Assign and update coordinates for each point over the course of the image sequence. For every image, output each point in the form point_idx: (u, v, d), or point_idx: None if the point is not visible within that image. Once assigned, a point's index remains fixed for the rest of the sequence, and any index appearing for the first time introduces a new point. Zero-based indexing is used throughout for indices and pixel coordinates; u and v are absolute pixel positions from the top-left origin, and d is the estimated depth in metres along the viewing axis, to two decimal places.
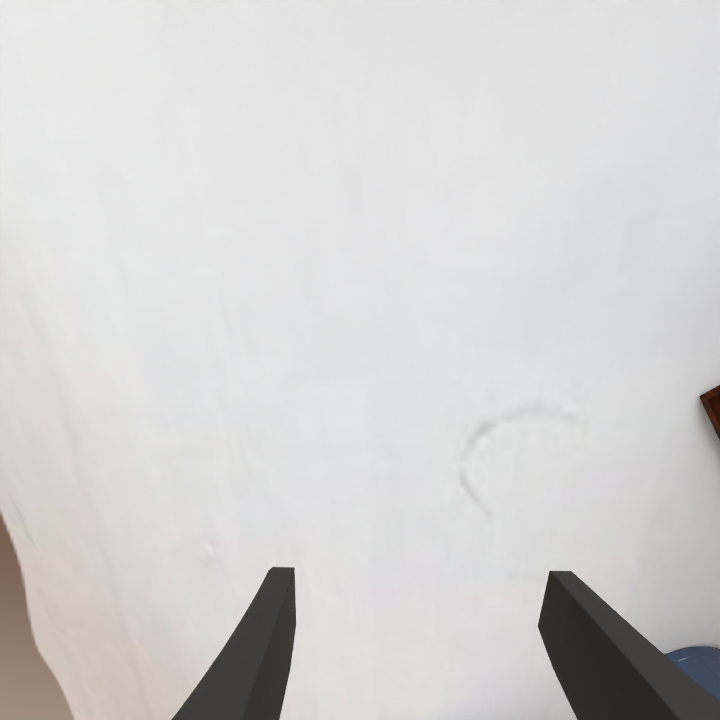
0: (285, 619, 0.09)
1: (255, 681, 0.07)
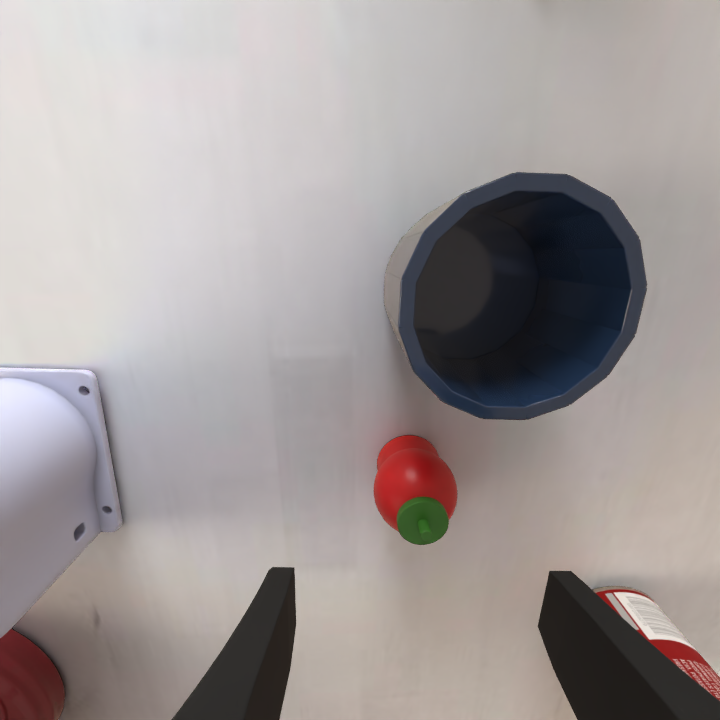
0: (285, 619, 0.09)
1: (255, 681, 0.07)
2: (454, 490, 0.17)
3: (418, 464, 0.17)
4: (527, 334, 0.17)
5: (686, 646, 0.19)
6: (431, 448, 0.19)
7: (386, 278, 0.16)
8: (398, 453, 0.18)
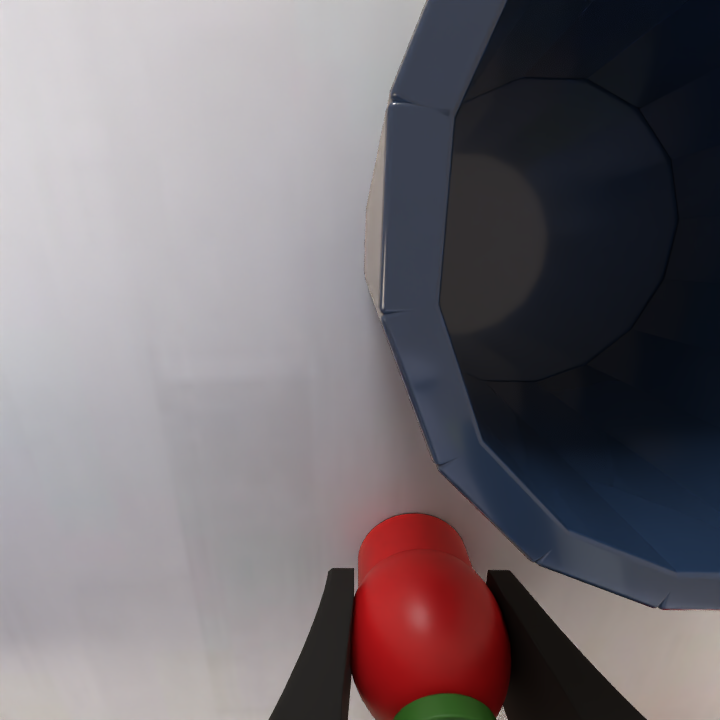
0: (352, 620, 0.09)
1: (343, 682, 0.07)
2: (508, 653, 0.08)
3: (434, 603, 0.08)
4: (657, 334, 0.08)
5: None
6: (454, 541, 0.11)
7: (366, 216, 0.07)
8: (394, 565, 0.09)
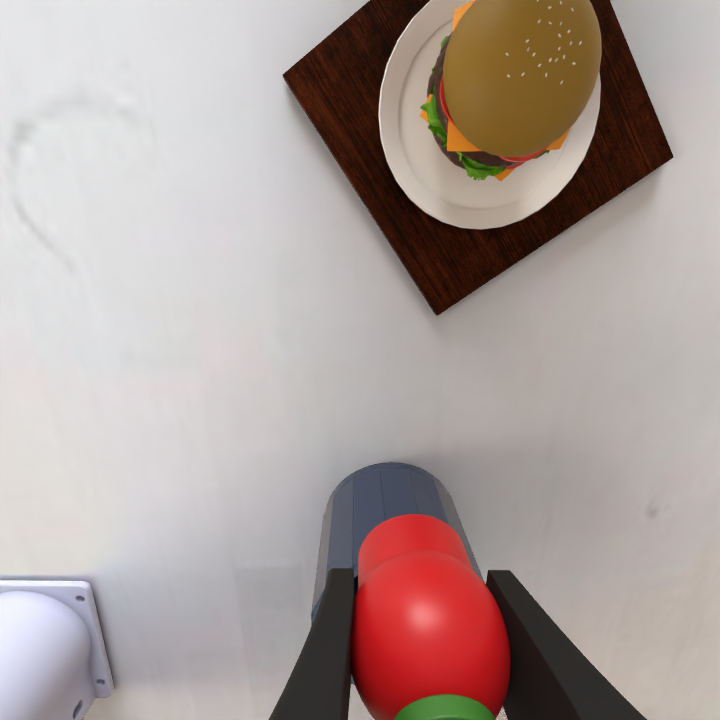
0: (352, 620, 0.09)
1: (343, 682, 0.07)
2: (507, 654, 0.08)
3: (434, 604, 0.08)
4: None
5: None
6: (454, 542, 0.11)
7: None
8: (393, 566, 0.09)
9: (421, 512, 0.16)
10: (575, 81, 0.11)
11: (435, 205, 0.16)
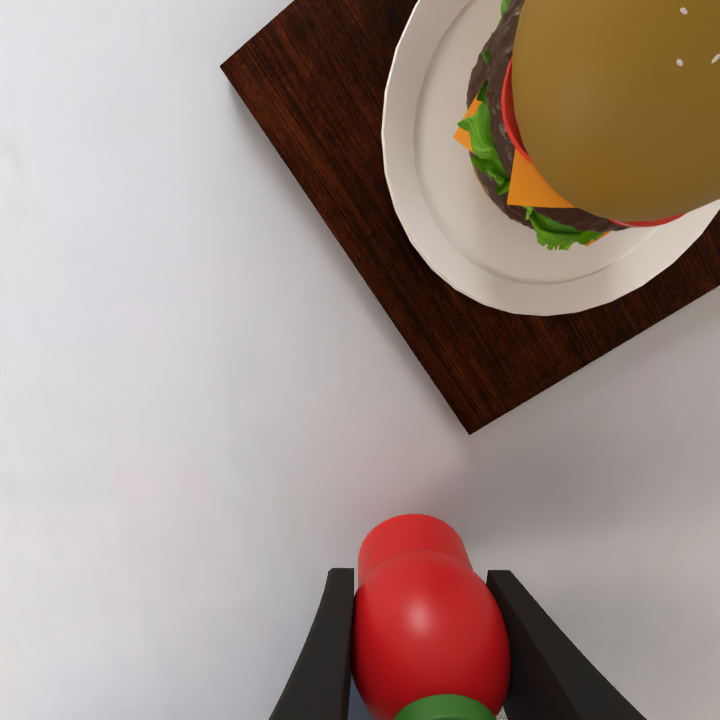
0: (352, 620, 0.09)
1: (343, 682, 0.07)
2: (507, 654, 0.08)
3: (434, 603, 0.08)
4: None
5: None
6: (454, 542, 0.11)
7: None
8: (393, 566, 0.09)
9: None
10: None
11: (472, 277, 0.10)
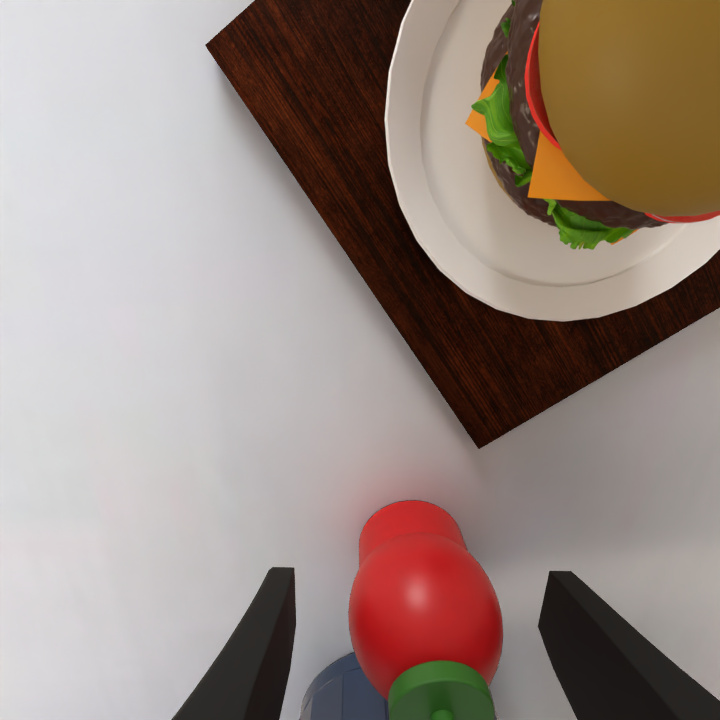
0: (285, 619, 0.09)
1: (255, 681, 0.07)
2: (499, 627, 0.09)
3: (430, 579, 0.09)
4: None
5: None
6: (450, 526, 0.11)
7: None
8: (393, 546, 0.10)
9: None
10: None
11: (483, 279, 0.09)
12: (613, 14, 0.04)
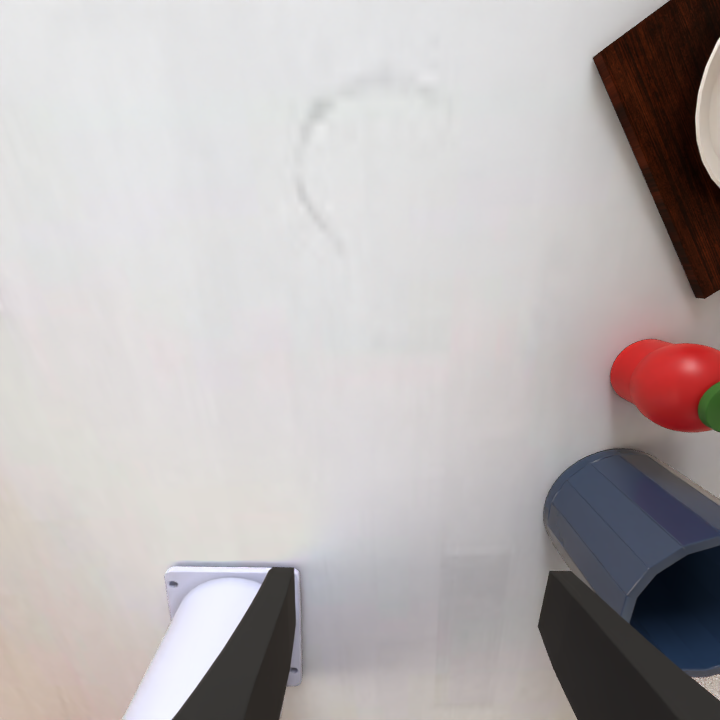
0: (285, 619, 0.09)
1: (255, 681, 0.07)
2: None
3: (708, 351, 0.15)
4: None
5: None
6: None
7: (557, 515, 0.20)
8: (667, 347, 0.16)
9: (706, 496, 0.16)
10: None
11: None
12: None
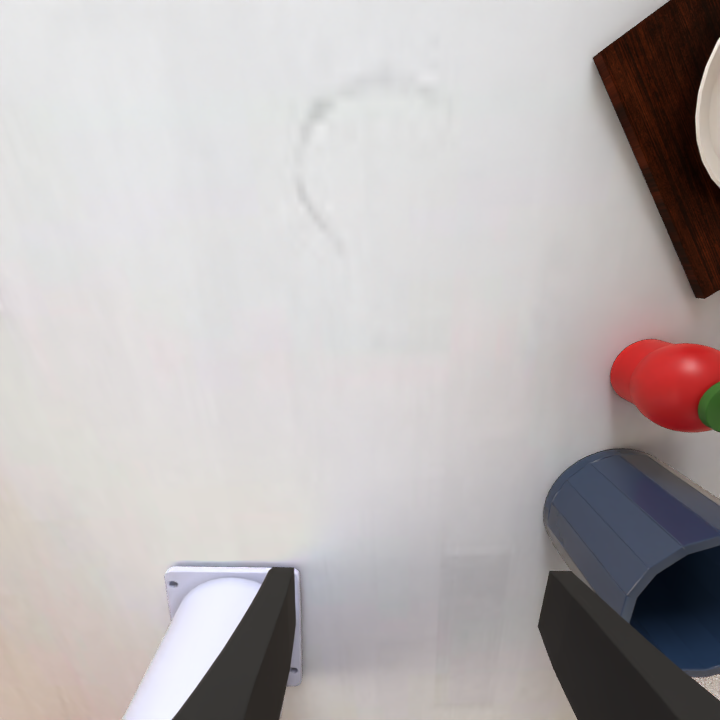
0: (285, 619, 0.09)
1: (255, 681, 0.07)
2: None
3: (708, 351, 0.15)
4: None
5: None
6: None
7: (557, 515, 0.20)
8: (667, 347, 0.16)
9: (706, 496, 0.16)
10: None
11: None
12: None
